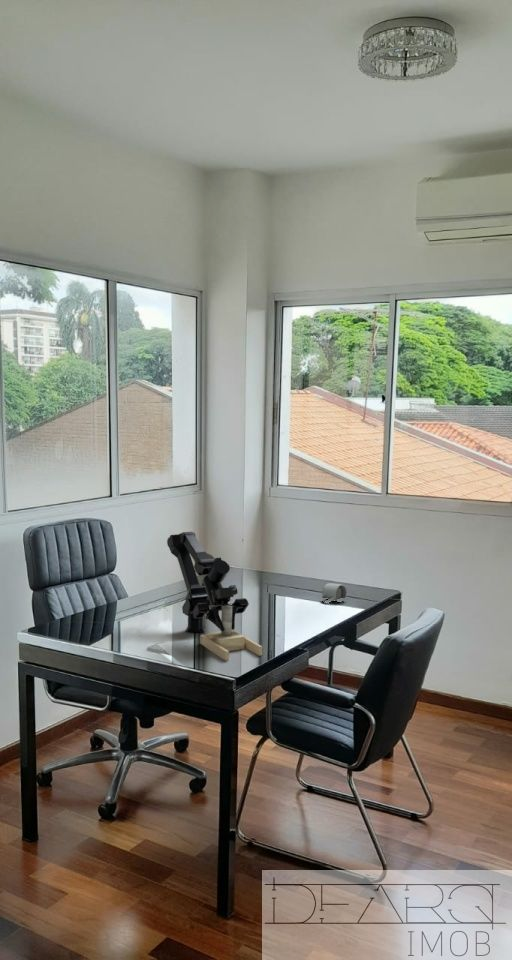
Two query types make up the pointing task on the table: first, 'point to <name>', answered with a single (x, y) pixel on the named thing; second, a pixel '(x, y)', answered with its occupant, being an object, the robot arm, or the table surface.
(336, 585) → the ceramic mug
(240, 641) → the peg on wooden base
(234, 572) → the table surface
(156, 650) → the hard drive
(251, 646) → the frame
